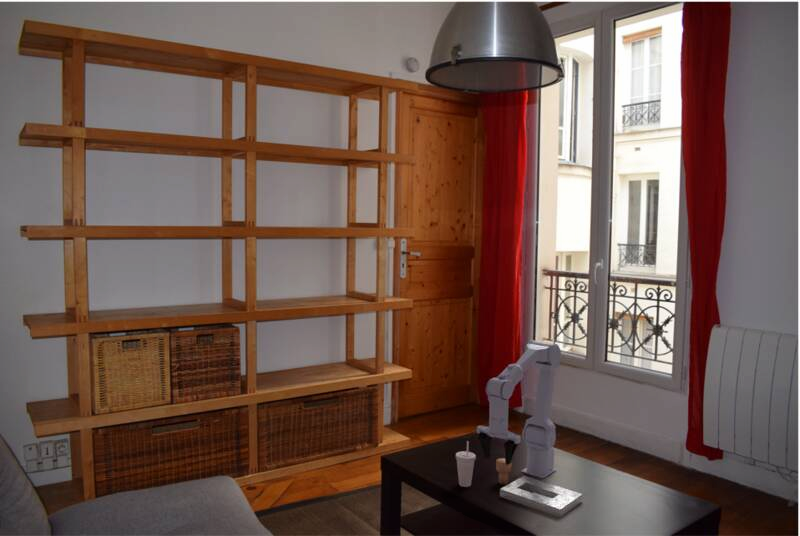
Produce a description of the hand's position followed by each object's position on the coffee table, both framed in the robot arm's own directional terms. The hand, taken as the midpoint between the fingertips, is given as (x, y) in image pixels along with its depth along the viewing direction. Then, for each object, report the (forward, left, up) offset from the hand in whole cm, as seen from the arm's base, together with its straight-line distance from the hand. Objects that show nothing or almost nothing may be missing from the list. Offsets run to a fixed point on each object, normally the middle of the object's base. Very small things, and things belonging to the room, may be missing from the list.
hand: (497, 460), depth 197 cm
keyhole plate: (-5, +12, -10) cm, 17 cm away
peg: (-8, -3, -10) cm, 13 cm away
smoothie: (+2, -11, -10) cm, 15 cm away
